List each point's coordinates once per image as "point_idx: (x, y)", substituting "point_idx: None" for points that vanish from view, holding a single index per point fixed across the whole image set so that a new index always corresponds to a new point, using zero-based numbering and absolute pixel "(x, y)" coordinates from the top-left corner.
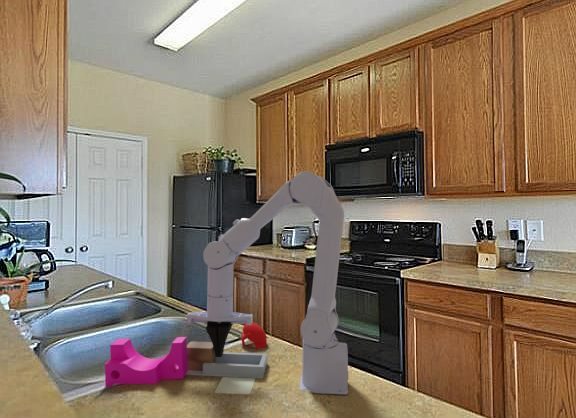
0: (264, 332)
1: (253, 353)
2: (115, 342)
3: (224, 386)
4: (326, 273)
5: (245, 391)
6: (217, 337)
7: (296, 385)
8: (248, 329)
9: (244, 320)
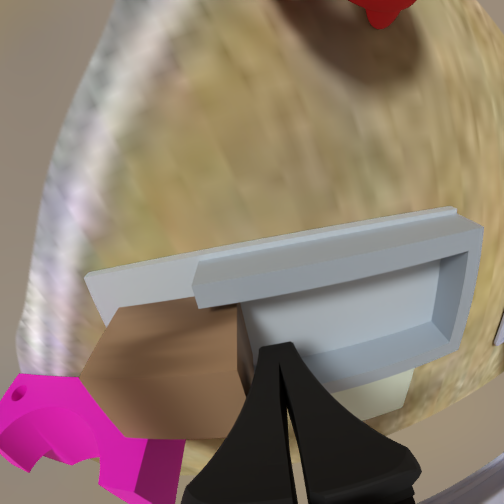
0: None
1: (435, 240)
2: (2, 455)
3: None
4: None
5: (393, 404)
6: (292, 470)
7: (496, 313)
8: None
9: (496, 482)
